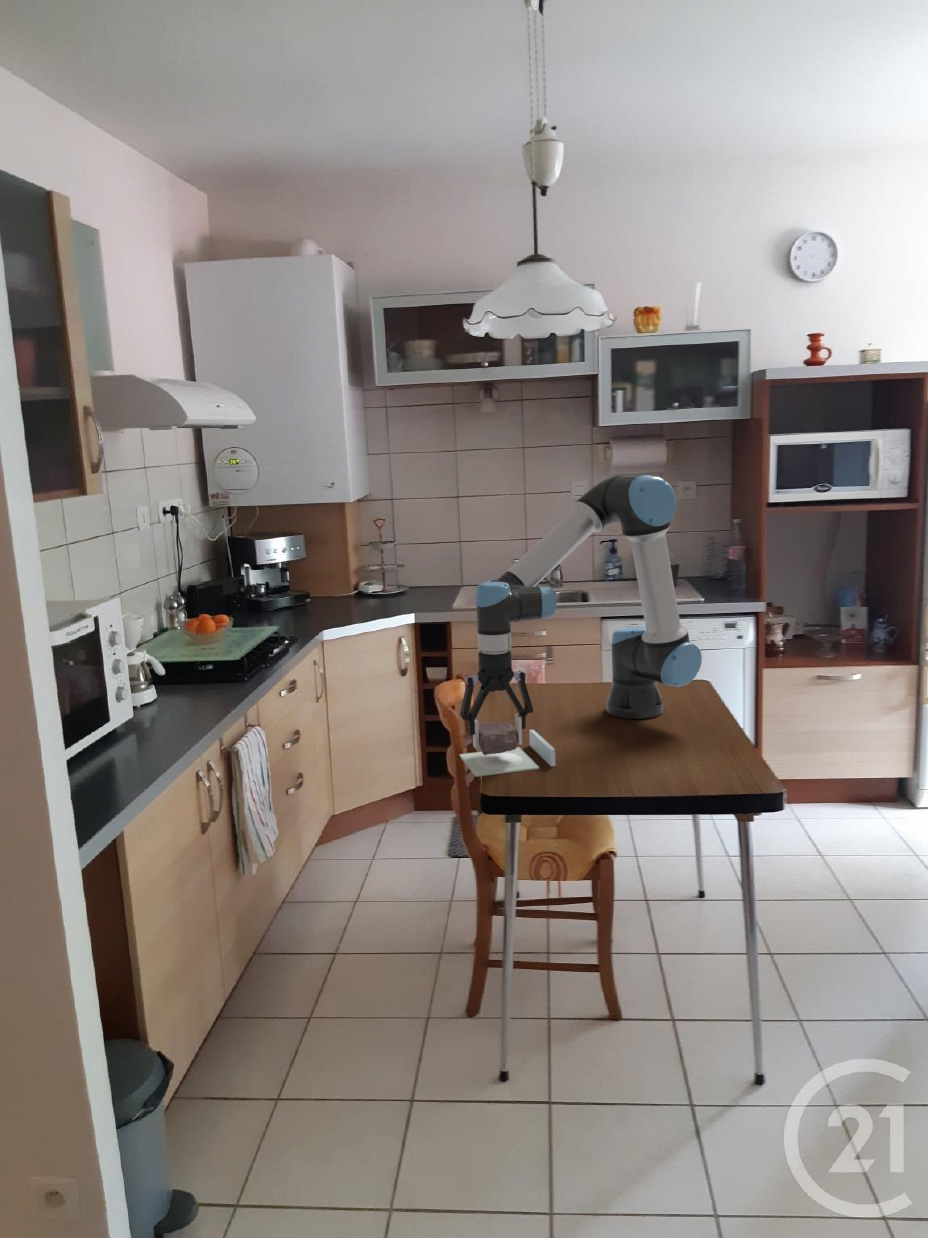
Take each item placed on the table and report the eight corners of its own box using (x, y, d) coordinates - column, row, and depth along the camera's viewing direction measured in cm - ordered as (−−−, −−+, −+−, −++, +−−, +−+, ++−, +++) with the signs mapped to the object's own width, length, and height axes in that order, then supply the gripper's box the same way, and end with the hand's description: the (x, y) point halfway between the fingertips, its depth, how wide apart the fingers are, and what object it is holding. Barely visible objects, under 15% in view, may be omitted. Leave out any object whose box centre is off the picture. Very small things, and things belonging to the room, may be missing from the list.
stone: (519, 754, 208) (518, 734, 207) (479, 757, 208) (478, 736, 207) (515, 738, 220) (514, 719, 219) (477, 740, 220) (476, 721, 219)
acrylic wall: (533, 745, 226) (533, 729, 225) (555, 766, 210) (555, 749, 210) (529, 745, 225) (529, 730, 225) (551, 766, 210) (550, 749, 209)
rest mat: (519, 749, 223) (519, 747, 223) (539, 768, 209) (539, 766, 209) (459, 756, 220) (459, 754, 220) (475, 776, 206) (475, 774, 205)
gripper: (536, 643, 216) (538, 735, 220) (443, 651, 211) (447, 745, 215) (546, 649, 209) (548, 744, 213) (450, 658, 204) (454, 755, 208)
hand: (497, 745), depth 214 cm, fingers closed on stone, 9 cm apart
